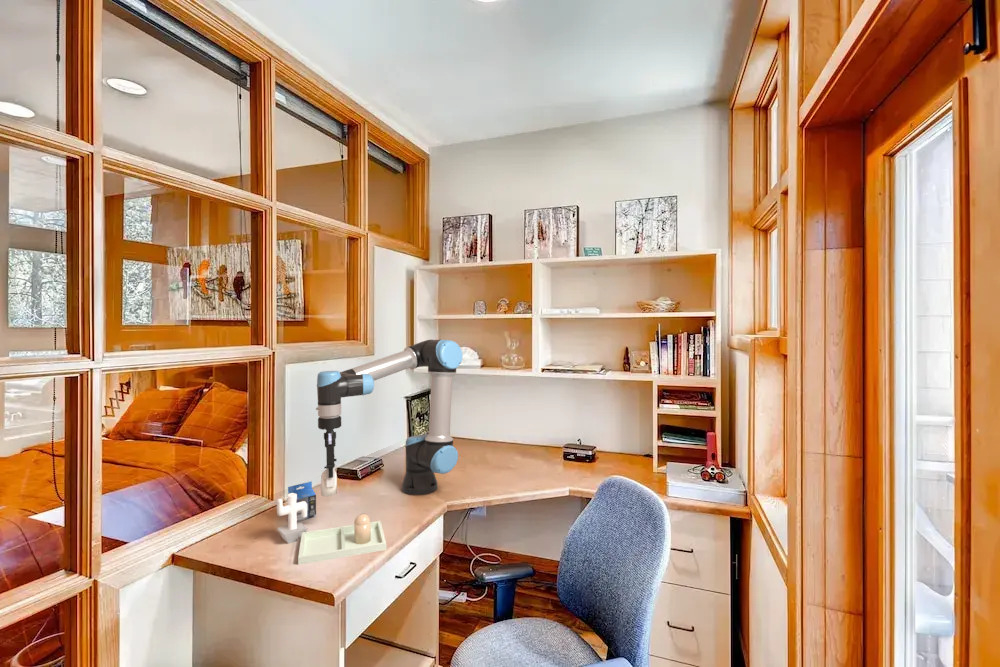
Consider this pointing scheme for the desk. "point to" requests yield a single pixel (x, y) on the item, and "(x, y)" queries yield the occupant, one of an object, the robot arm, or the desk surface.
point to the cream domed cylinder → (328, 490)
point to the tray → (338, 543)
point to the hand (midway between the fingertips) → (331, 483)
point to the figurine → (292, 518)
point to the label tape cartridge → (305, 499)
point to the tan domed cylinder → (362, 529)
